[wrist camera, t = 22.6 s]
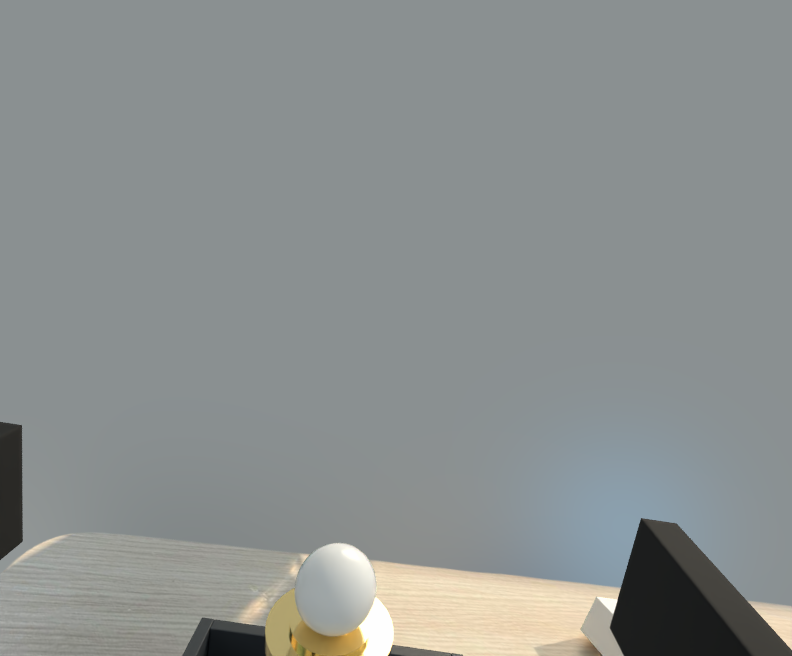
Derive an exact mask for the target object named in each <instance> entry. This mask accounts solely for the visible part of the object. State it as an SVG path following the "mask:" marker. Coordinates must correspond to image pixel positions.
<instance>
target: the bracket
mask: <svg viewBox="0 0 792 656" xmlns="http://www.w3.org/2000/svg"><path fill="white" fill-rule="evenodd" d="M616 604H617V599H609V598H601V597H596V599H595V601H594V603H593V605H592V607H591V609H590V611H589V613H588V615H587V617H586V619H585V621H584V623H583V625H582V627H581V629H580V630H581V631H582V632H583V633H584V634H585V636H586V637H587V638H588V639H589V640H590V642H591V643H592V644H593V645H594V646H595V647H596V649H597V650H598V651H599V652H600V653H601V654H602V656H624V655H623V653H622V651H621V649H620V647H619V645H618V643H617V641H616V639H615V637H614V635H613V634H612V632H611V630H610V624H611V621H612V618H613V614H614V611H615V607H616Z"/></svg>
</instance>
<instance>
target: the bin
mask: <svg viewBox="0 0 792 656" xmlns="http://www.w3.org/2000/svg"><path fill="white" fill-rule="evenodd" d="M264 636H265V627H263V626H256V625H249V624H242V623H235V622H228V621H221V620H214V619H209V618H202V619H201V621H200V623H199V625H198V627H197V629H196V631H195V633H194V635H193V636H192V638H191V640H190V642H189V644H188V646H187V648H186V650H185V652H184V654H183V656H266V654H265V648H264ZM390 656H463V655H460V654H453V653H452V654H451V653H445V652H438V651H431V650H424V649H417V648H410V647H403V646H396V645H392V649H391V653H390Z"/></svg>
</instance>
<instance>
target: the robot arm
mask: <svg viewBox="0 0 792 656" xmlns="http://www.w3.org/2000/svg"><path fill="white" fill-rule="evenodd" d="M22 537H23V535H22V425H17V424H10V423H3V422H0V560H1V559H2V558H3V557H4V556H6V555H7V554H8V553H9V552H10V551H12V550H13V549H14V548H15V547H16V546H18V545H19V544H20V543H21V542H22V541H23V539H22ZM610 630H611V632H612V634H613V635H614V637H615V639H616V641H617V643H618V645H619V647H620V649H621V651H622V653H623V655H624V656H792V650H791V649H790V648H789V647H788V646H787V645H786V643H785V642H784V641H783V640H782V639H781V638H780V637H779V636H778V635H777V634H776V632H775V631H774V630H773V629H772V628H771V627H770V626H769V625H768V624H767V623H766V621H765V620H764V619H763V618H762V617H761V616H760V615H759V614H758V613H757V612H756V610H755V609H754V608H753V607H752V606H751V605H750V604H749V603H748V602H747V601H746V599H745V598H744V597H743V596H742V595H741V594H740V593H739V592H738V591H737V590H736V588H735V587H734V586H733V585H732V584H731V583H730V582H729V581H728V580H727V579H726V577H725V576H724V575H723V574H722V573H721V572H720V571H719V570H718V569H717V567H716V566H715V565H714V564H713V563H712V562H711V561H710V560H709V559H708V558H707V557H706V555H705V554H704V553H703V552H702V551H701V550H700V549H699V548H698V547H697V545H696V544H695V543H694V542H693V541H692V540H691V539H690V538H689V537H688V536H687V534H685V532H684V531H683V530H682V529H681V528H680V527H679V526H678V525H677V524H675V523H669V522H662V521H656V520H649V519H642V518H641V521H640V524H639V528H638V531H637V534H636V538H635V541H634V545H633V548H632V552H631V555H630V559H629V562H628V566H627V569H626V572H625V576H624V579H623V583H622V586H621V590H620V593H619V597H618V600H617V604H616V607H615V611H614V614H613V618H612V621H611V624H610Z"/></svg>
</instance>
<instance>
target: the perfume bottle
mask: <svg viewBox="0 0 792 656" xmlns="http://www.w3.org/2000/svg"><path fill="white" fill-rule="evenodd" d="M376 592H377V582H376V576H375V571H374V569H373V567H372V564H371V562H370V561H369V559H368V558H367V557H366V556H365V554H364V553H363V552H362V551H360V550H359V549H357V548H356V547H354V546H351V545H349V544H345V543H332V544H328V545H324V546H322V547H320V548H318V549H317V550H315V551H314V552H313V553H311V554H310V555H309V556H308V558H307V559H306V560H305V561H304V563H303V564H302V566H301V568H300V570H299V572H298V575H297V578H296V582H295V588H293V589H291V590H290V591H289V592H287V593H286V594H284V595H283V596H282V597H281V598H280V599H279V600H278V601H277V602H276V603H275V604H274V606H273V607H272V609H271V610H270V612H269V615H268V618H267V620H266V627H265V636H264V648H265V654H266V656H390V653H391V649H392V643H393V626H392V621H391V618H390V616H389V614H388V611H387V610H386V609H385V607H384V606H383V604H382V603H381V602H380V601H379V600H378V599H377V598H376Z"/></svg>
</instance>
